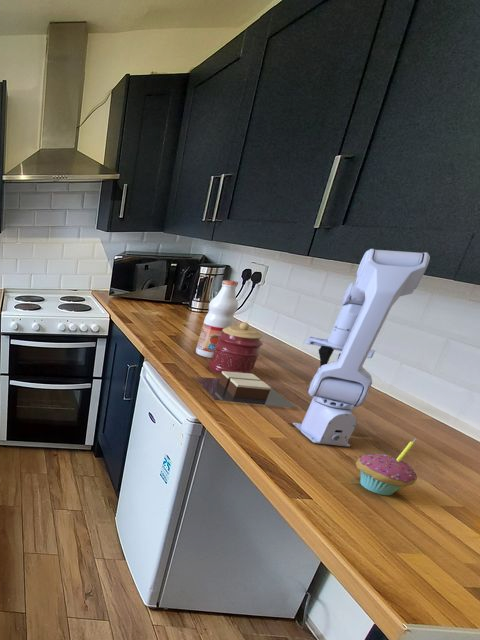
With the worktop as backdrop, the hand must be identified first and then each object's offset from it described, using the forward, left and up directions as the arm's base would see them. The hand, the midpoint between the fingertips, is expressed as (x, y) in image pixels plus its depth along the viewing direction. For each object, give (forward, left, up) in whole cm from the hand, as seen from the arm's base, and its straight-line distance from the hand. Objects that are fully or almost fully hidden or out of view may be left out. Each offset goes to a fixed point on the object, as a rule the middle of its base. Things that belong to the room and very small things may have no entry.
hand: (327, 373), depth 116 cm
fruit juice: (+36, +17, -9) cm, 41 cm away
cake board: (0, +21, -8) cm, 23 cm away
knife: (-4, +4, -2) cm, 6 cm away
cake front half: (-3, +21, -8) cm, 23 cm away
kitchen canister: (+18, +17, -9) cm, 26 cm away
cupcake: (-45, +15, -9) cm, 48 cm away
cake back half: (+3, +21, -8) cm, 23 cm away
